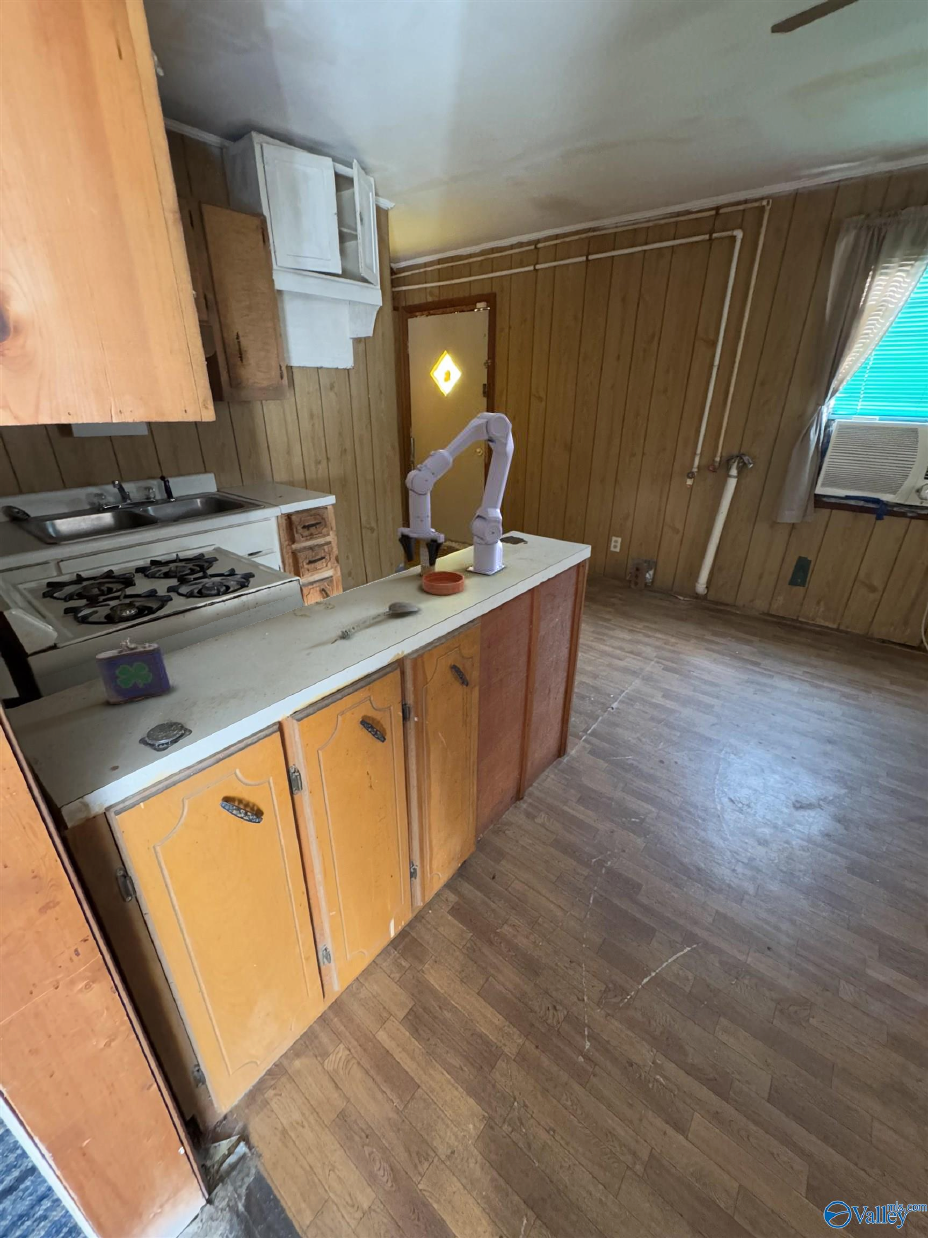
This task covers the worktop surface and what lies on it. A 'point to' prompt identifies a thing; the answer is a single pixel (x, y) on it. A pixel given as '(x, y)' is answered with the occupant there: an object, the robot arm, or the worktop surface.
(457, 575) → the terracotta plant saucer
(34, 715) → the worktop surface
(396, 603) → the soupspoon
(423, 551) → the sprinkles bottle
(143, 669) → the flask
